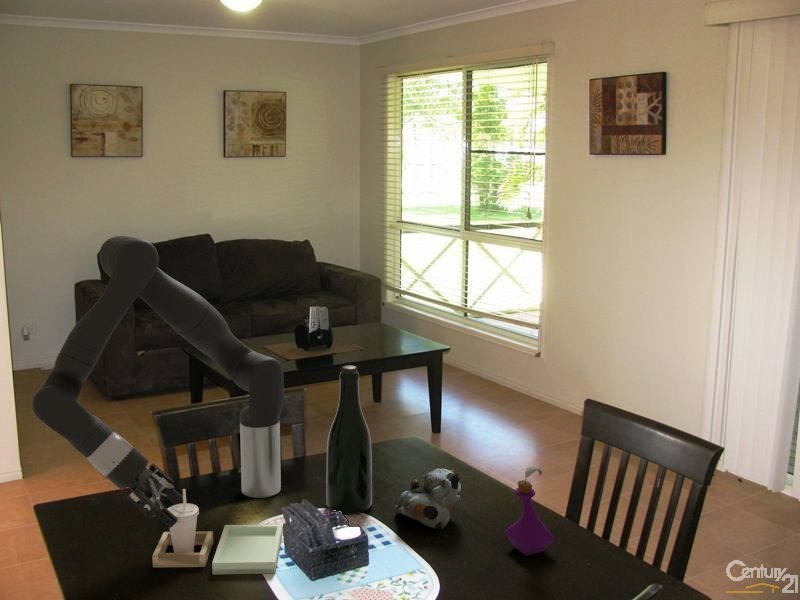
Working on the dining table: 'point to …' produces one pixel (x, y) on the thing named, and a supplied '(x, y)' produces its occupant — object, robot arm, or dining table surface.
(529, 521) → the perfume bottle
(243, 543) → the tray
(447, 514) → the lucky cat figurine
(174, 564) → the collar
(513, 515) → the dining table surface
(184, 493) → the smoothie
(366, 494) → the green wine bottle
